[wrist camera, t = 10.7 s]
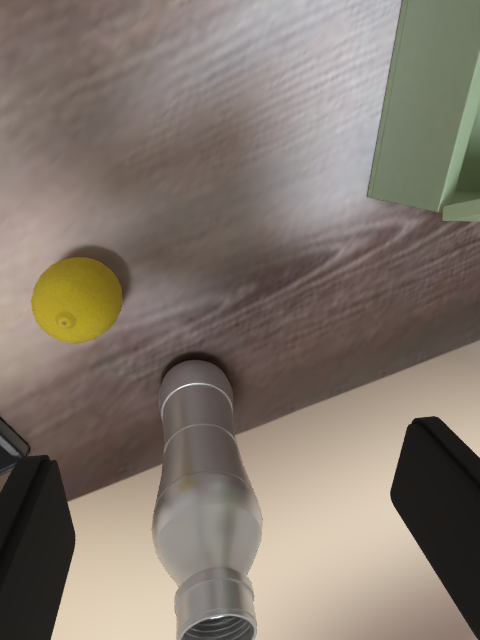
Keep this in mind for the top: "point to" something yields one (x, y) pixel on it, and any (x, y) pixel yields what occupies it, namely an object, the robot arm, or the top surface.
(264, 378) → the top surface
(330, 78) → the top surface
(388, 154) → the chest
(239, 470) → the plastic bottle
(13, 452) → the phone
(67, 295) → the lemon
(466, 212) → the lid
